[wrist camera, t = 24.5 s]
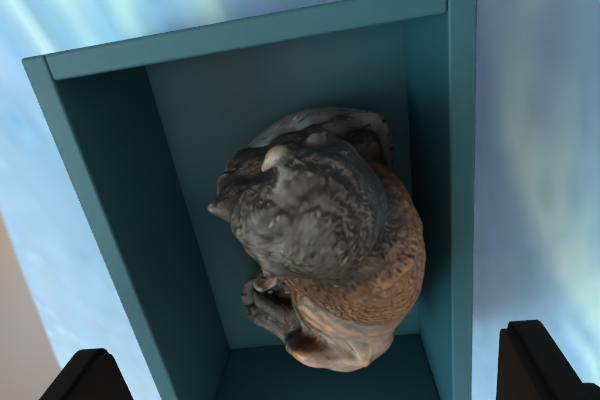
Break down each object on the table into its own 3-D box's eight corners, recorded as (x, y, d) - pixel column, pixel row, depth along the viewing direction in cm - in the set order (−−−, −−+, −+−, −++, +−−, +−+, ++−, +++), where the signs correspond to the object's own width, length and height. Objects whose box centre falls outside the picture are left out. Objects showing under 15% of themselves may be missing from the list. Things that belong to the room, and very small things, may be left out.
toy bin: (416, -4, 15) (478, -25, 9) (429, 331, 22) (471, 451, 16) (131, 47, 17) (18, 58, 11) (224, 348, 23) (187, 465, 17)
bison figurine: (393, 312, 21) (448, 542, 11) (260, 318, 21) (212, 540, 12) (389, 73, 16) (478, 137, 7) (219, 91, 17) (88, 171, 7)
